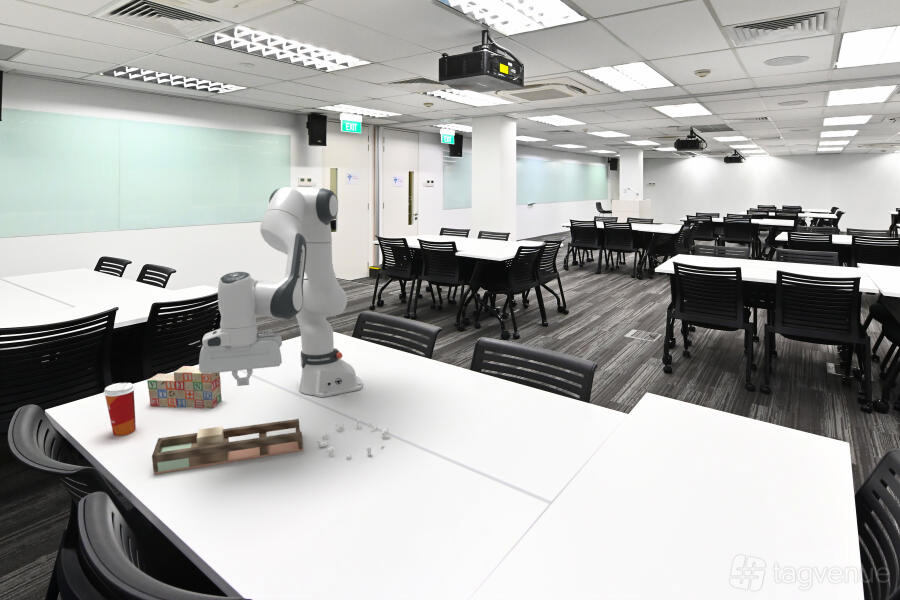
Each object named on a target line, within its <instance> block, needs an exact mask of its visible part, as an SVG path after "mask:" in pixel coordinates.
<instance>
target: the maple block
mask: <svg viewBox="0 0 900 600" xmlns="http://www.w3.org/2000/svg"><path fill="white" fill-rule="evenodd" d="M223 429H224V426H223V425H222V426H215V427H209V428H202V429H198V431H197V433H198V434H197V447H199V446H206V445H213V444H219V443H224V434H223Z"/></svg>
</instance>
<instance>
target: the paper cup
mask: <svg viewBox="0 0 900 600" xmlns="http://www.w3.org/2000/svg"><path fill="white" fill-rule="evenodd" d="M135 389H136V388H135V386H134V384H133V383H131V382H118V383H114V384H111V385H108V386H106V387H105V388H104V391H103V395H104V396H105V402H106V405H107V411H108V416H109V420H110V425H111V429H112V433H113V435H114V436H116V437H117V436H118V437H122V436H123V437H124V436H127V435H130V434H133V433H135V431H136V430H137V429H136V428H137V427H136V426H137V425H136V406H135Z"/></svg>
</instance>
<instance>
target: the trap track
mask: <svg viewBox="0 0 900 600" xmlns="http://www.w3.org/2000/svg"><path fill="white" fill-rule="evenodd" d="M291 429H295V432H288V433H283V434H275V435H267V433H270V432H277V431H282V430H291ZM302 433H303V432H302V431H301V429H300V419H299V418H295V419H294V418H293V419H287V420H280V421H273V422H265V423H258V424H251V425H244V426H235V427H230V428H223V434H224V443H219V444H213V445H206V446H199V447H197V434H198V432H195V433H194V432H193V433H185V434H177V435H173V436H165V437H158V439H157V440H156V443H155V444H156V445H155V447H154V449H153V451H152V452H153V453H152V455H151V460H152V468H153V475H159V474H165V473H171V472H177V471H182V470H188V469H189V470H190V469H196V468H202V467H209V466H215V465H221V464H227V463H233V462H240V461H246V460H252V459H253V460H254V459H259V458H265V457H269V456H270V457H271V456H276V455H284V454H290V453H291V454H292V453H296V452H302V451H304V450H303V434H302ZM257 434H258V437H254V438H249V439H247V438H246V439H241V440H234V441H233V440H232V441H230V439H229V438H235V437H241V436H248V435H257Z"/></svg>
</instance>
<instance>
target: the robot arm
mask: <svg viewBox="0 0 900 600" xmlns="http://www.w3.org/2000/svg"><path fill="white" fill-rule="evenodd" d="M338 212H339V201H338V197H337V195H336V193H334V191H333V190H331V189H328V188H316V187H309V186H307V187H306V186H303V187H291V186H290V187H289V186H284V187H281V188H277V189H275V190H274V191H273V192H272V193H271V194H270V196H269V200H268V205H267V207H266V209H265V211H264V214H263V216H262V219H261V222H260V227H259V229H260V235H261V237H262V239H263V240H264V242H266V243H267V244H268V246H270V247H271V248H273V249H274V250H276V251H278V252H281V253H283V254H285V255H287V260H286V269H285V274H284V278H283V279H282V280H279V281H268V280H267V281H265V280H259V279H254V278H253V277H252V276H251V274H250V273H249V272H246V271H234V272H229V273H226V274H223V275H222V276H221V277H220V279H219V281H218V288H217V304H218V311H219V313H220V323H219V326H220V328H218V329H215V330H212V331H209V332H207V333H205V334H204V335H203V337H202V339H201V340H202V346H201V349H200V352H199V359H198V366H199V371H200V372H201V373H202V374H209V373H218V372H220V373H226V372H231V376H232V377H233V378H234V379H235V380H236V384H237V387H241V386H242V387H243V386H249V385H250V378H251V377H252V374H253V373H254V371H253V370H255V369H256V370H257V369H263V368H273V367H274V368H275V367H280V366H281V364H282V363H283V361H282V354H281V347H282V345H283V341H282V340H283V338H282V336H281V335H280V334H279V333H276V332H275V331H272V332H258V323H257V318H256V316H258V317H270V318H271V317H272V318H276V319H282V320H291V319H292V318H294V317H296V320H297V324H298V326H299V331H300V341H301V351H300V366H301V377H300V384H299V388H298V391H299V392H300V393H302V394H305V395H311V396H316V397H318V398H326V397H331V396H336V395H339V394H346V393H350V392H354V391H355V392H356V391H360V390H362V388H363V386H364V384H363V380H362V378H360V377H359V376H357V374H356V371H355V369H354V367H353V366H352V365H351V364H350V363H348V362H346V361H345V360H343V359H342V358H343V354H342V352H340V350H339V349H337V348H335V347H334V344H335V342H334V330H333V329H334V328H333V327H332V325H331V324H330V323H329V322H328V320H327V318H326V316H327V317H328V316H337V315H340V314H342V313H343V312H344V310H345V309H346V307H347V304H348V297H347V293H346V291H345V290H344V289H343V287H342V286H341V285H340V283H339V281H338V279H337V277H336V273H335V269H334V265H333V246H332V245H333V243H332V241H333V240H332V239H333V237H332V227H331V222H332V221H333V220H335V218H336V217H337V215H338ZM305 275H306V279H305ZM245 370H246V373H247V374H246V376H245V377H240V376H239V374H238V372H239V371H245Z"/></svg>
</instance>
